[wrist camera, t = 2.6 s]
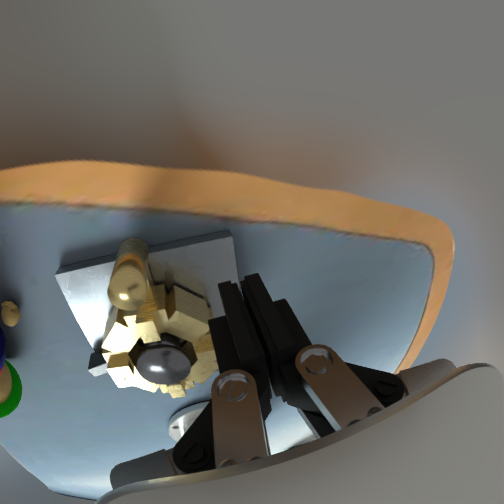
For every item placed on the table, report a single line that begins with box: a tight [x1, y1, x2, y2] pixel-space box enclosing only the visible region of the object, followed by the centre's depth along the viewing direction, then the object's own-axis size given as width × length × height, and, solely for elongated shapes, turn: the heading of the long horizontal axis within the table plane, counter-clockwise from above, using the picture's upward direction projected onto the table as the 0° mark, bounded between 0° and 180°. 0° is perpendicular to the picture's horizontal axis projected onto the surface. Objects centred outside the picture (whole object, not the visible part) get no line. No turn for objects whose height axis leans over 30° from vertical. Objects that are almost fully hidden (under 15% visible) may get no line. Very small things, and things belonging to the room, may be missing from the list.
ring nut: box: [102, 238, 218, 398], centre depth 19 cm, size 13×9×5 cm
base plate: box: [55, 230, 240, 388], centre depth 21 cm, size 14×15×6 cm
